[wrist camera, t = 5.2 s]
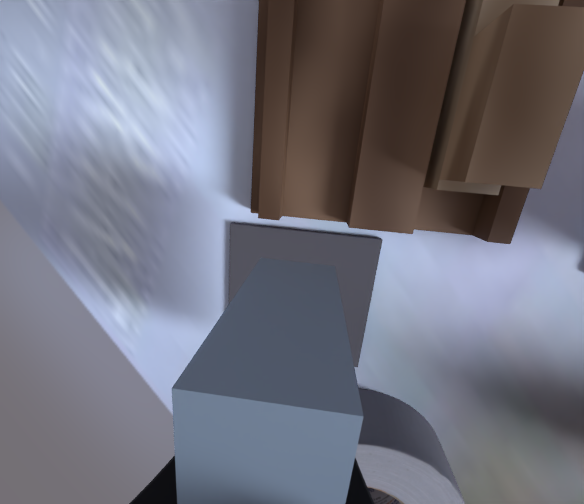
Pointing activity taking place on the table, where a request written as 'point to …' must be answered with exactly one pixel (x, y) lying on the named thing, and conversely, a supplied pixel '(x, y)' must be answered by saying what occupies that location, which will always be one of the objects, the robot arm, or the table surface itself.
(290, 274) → the blue-grey rectangular block
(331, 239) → the mat
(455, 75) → the block
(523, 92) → the offcut short
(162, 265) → the table surface
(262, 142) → the rack
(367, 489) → the robot arm
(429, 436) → the tape roll
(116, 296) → the table surface
